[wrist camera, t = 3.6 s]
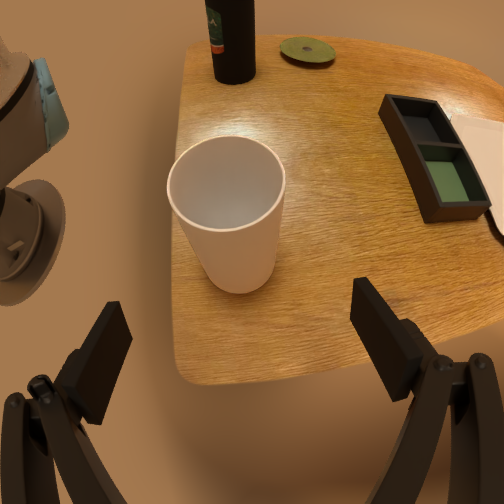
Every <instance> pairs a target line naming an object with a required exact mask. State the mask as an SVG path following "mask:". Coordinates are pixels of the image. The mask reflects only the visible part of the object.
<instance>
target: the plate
mask: <svg viewBox="0 0 504 504" xmlns="http://www.w3.org/2000/svg"><path fill="white" fill-rule="evenodd" d="M450 123H451V124H452V126H453V127H454V129H455V131H456V133H457V134H458V136H459V138H460V140H461V141H462V143H463V145H464V147H465V149H466V150H467V152H468V154H469V156H470V158H471V160H472V162H473V164H474V166H475V168H476V170H477V172H478V174H479V176H480V178H481V181H482V183H483V185H484V187H485V189H486V192H487V194H488V196H489V199H490V201H491V203H492V206H491V207H490V208H489V211H490V214H491V216H492V219H493V221H494V224H495V227H496V229H497V230H498V232H499V233H500V234H501V235H502V236H503V237H504V123H503V122H498V121H494V120H489V119H484V118H479V117H474V116H468V115H463V114H456V113H454V114H452V116H451V119H450Z"/></svg>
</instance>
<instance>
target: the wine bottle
mask: <svg viewBox="0 0 504 504" xmlns="http://www.w3.org/2000/svg"><path fill="white" fill-rule="evenodd" d="M205 5H206V13H207V21H208V29H209V35H210V44H211V52H212V59H213V67H214V74H215V78H216V80H217V81H219V82H221V83H224V84H228V85H236V84H242V83H246V82H248V81H250V80H252V79H253V78H254V77H255V74H256V62H255V9H254V0H205Z"/></svg>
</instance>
